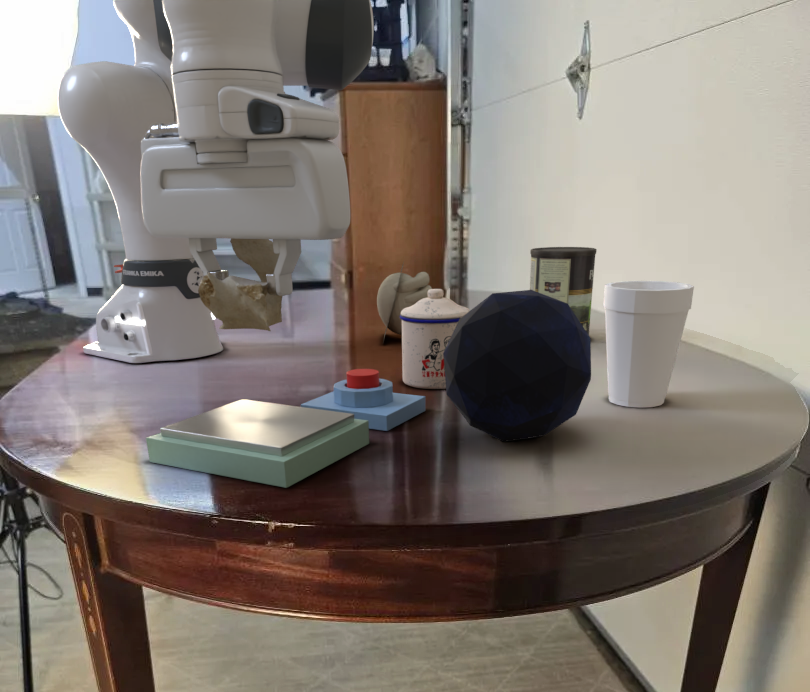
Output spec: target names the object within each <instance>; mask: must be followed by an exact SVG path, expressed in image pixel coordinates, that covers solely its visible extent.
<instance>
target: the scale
mask: <svg viewBox="0 0 810 692" xmlns="http://www.w3.org/2000/svg"><path fill="white" fill-rule="evenodd" d="M145 441H146V447H147V454H148V459H149V462H150V463H153V464H158V465H164V466H170V467H174V468H180V469H184V470H189V471H196V472H199V473H200V472H201V473H206V474H211V475H216V476H221V477H228V478H232V479H237V480H242V481H243V480H244V481H248V482H253V483H259V484H264V485H268V486H275V487H280V488H284V489H288V488H289V487H291V486H293V485H295V484H297V483H298V482H301V481H302V480H304V479H306V478H307V477H310V476H311V475H313V474H315V473H317V472H318V471H321V470H323V469H325V468H326V467H328V466H330V465H332V464H334V463H335V462H338V461H339V460H341V459H343V458H345V457H347V456H349V455H351V454H353V453H354V452H357V451H358V450H360V449H362V448H364V447H366V446H368V445H369V444H370V429H369V422H368V420H361V419H354V414H351V413H343V412H335V411H328V410H320V409H313V408H305V407H301V406H296V405H288V404H282V403H274V402H268V401H260V400H259V401H258V400H251V399H243V398H241V399H239V400H236V401H233V402H230V403H227V404H224V405H221V406H219V407H216V408H213V409H210V410H208V411H205V412H202V413H199V414H196V415H193V416H190V417H188V418H184V419H183V420H182V419H181V420H179V421H177V422H173V423H171V424H168V425H166V426H163V427H160V432H158V433H155V434H152V435H150V436H148V437H145Z"/></svg>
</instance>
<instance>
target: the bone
mask: <svg viewBox="0 0 810 692" xmlns="http://www.w3.org/2000/svg"><path fill="white" fill-rule="evenodd" d="M229 242H230V245H231V248H232V250H233V252H234V254H235V256H236V257H237V258H238V259H239V260H240V261H242V262H243V263H245V264H246V265H248V266H250V267H251V269H252V270H254V271H255V273H256V275H257V276H258V278H259V280H260V281H259V280H255V279H251V278H245V277H240V276H236V275H229V277H227V278H225V279H224V280H219V279H217V278H216V277H215V276H214V275H212V274H211V273H210V272H209V273H208V275H205V276H204V277H203V279H202V280H201V281H200V285H199V289H198V293H199V295H200V298H201V301H202V302H203V304H204V305H205V306H206V307H207V308H208V309H209V310H210V311H211V313H212V314H213V316H214V317H215V319H218V320H219V321H221V323H222V324H221V325H220V326H219V330H246V329H247V330H260V331H261V330H262V331H268V332H272V330H271V326H274V325H276V324H280V323H282V322H283V318H282V317H283V314H282V307H283V304H282V303H283V302H282V301H283V296H277V295H270V294H269V293H268V291H267V287H268V284H267V280H266V274H273V273H274V270H275V267H276V264H277V261H278V258H279V255H280V253H279V254H276V253H274V249H273V240H271V239H230V240H229Z"/></svg>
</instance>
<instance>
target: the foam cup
mask: <svg viewBox="0 0 810 692" xmlns="http://www.w3.org/2000/svg"><path fill="white" fill-rule="evenodd" d="M694 289H695V286H694V285H692V284H690V283H684V282H679V281H678V282H677V281H663V280H624V281H623V280H622V281H614V282H609V283H606V284H604V290H603V291H604V292H603V303H602V306H603V308H604V317H605V318H604V319H605V347H606V370H607V371H606V375H607V394H608V401H609V403H612V404H614V405H617V406H622V407H627V408H638V409H639V408H641V409H642V408H653V407H658V406H662V405H663V404H665V399H666V398H667V394H668V390H669V386H670V382H671V379H672V374H673V371H674V367H675V363H676V360H677V356H678V351H679V348H680V344H681V341H682V337H683V333H684V329H685V326H686V322H687V318H688V315H689V314H688V313H689V310H691V309H692V305H693V296H694Z"/></svg>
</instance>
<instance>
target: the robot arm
mask: <svg viewBox="0 0 810 692" xmlns="http://www.w3.org/2000/svg"><path fill="white" fill-rule="evenodd" d="M112 4H113V7H114V9H115V11H116V13H117V15H118V17H119V19H121V20H122V22H124V24H125V25H126V26H127V27H128V30H129V32H130V35H131V39H132V42H133V43H132V44H133V49H134V65H131V64H125V63H119V62H114V61H105V60H103V61H101V60H100V61H94V62H87V63H80V64H76V65H72V66H71V67H69V68H68V69H67V70H66V71H65V72H64V74H63V75H62V77H61V78H60V82H59V84H58V87H57V88H58V89H57V95H56V96H57V99H56V100H57V109H58V114H59V116H60V119H61V122H62V124H63V126H64V128H65V130H66V132H67V133H68V134H69V136H70V137H71V138H72V139H73V140H74V141H75V142H76V143H77V144H78V145H79V146H80V147H82V148H83V149H84V150H85V151H86V152H87V153H88V155H89V156H90V157H91V158H92V160H93V161H94V162H95V164H96V166H97V167H98V169H99V170H100V172H101V173H102V175H103V177H104V180H105V181H106V183H107V185H108V189H109V190H110V192H111V195H112V199H113V200H114V204H115V207H116V211H117V215H118V220H119V226H120V231H121V235H122V236H121V237H122V242H123V247H124V254H125V255H124V256H125V259H124V260H123V263H122V264H114V265H113V268H120V269H117V270H114V273H115V274H121V277H120V284H121V286H120V287H119V288H118V289H117V290H116V291H115V293H114V294H113V295H112V296H111V298H109V300H107V302H106V303H105V304H104V305H103V306H102V307H101V308H100V309H99V310H98V312H97V313H96V317H95V329H96V337H97V341H94V342H92V343H89V344H87V345H85V346H83V353H84V354H87V355H91V356H95V357H96V356H97V357H102V358H105V359H109V360H110V359H111V360H116V361H120V362H124V363H129V364H142V363H151V362H153V363H154V362H165V361H179V360H189V359H191V360H192V359H196V358H197V359H198V358H202V357H207V356H211V355H216V354H218V353H220V352H222V351H223V350H224V346H223V345H222V341H221V339H220V336H219V333H218V330H217V327H216V324H215V320H216V318H215V317H214V316H213V314H212V313H211V311H210V310H209V309H208V308H207V307H206V306H205V305H204V304H203V302H202V301H201V298H200V295H199V293H198V289H199V285H200V281H201V280H202V279H203V277H204V276H205V275H208V273H209V272H210V273H211V274H212V275H214V276H215V277H216V278H217V279H219V280H224V279H225V278H227V277H229V276H230V272H229V270H228V269H227V270H226V269H225V270H224V269H222V268H221V265H220V263H219V261H218V259H217V257H216V255H215V253H214V251H217V250H218V244H217V243H218V242H217V239H227V240H228V239H230V240H231V239H269V240H272V242H273V249H274V253H276V254H279V253H280V255H279V258H278V261H277V264H276V267H275V270H274V273H273V274H266V280H267V284H268V287H267V291H268V293H269V294H270V295H277V296H282V297H286V296H290V295H292V293H293V291H294V289H293V287H294V286H293V273H294V271H295V269H296V266H297V264H298V261H299V259H300V257H301V254H302V241H301V240H303V241H307V240H308V241H328V240H337V239H341V238H343V237H344V235H345V234H346V232H347V231H348V229H349V227H350V225H351V201H350V200H351V199H350V189H349V179H348V172H347V165H346V162H345V157H344V155H343V153H342V150H341V149H340V148H339V146H338V145H337V144H335V143H334V142H333V140H336V138H337V137H338V136H339V134H340V118H339V114H338V112H336V111H335V110H334V109H331V108H330V107H326V106H323V105H321V104H318V103H314V102H311V101H307V100H305V99H303V98H300V97H298V96H296V95H292V94H289V93H286V92H285V90H284V89H285V88H284V87H285V86H286V87H298V86H299V87H302V86H303V87H304V86H307V87H309V88H312V89H314V88H315V89H324V90H333V91H343V90H344V89H345V88H346V87H348V86H349V85H350V84H351V83H352V82H353V81H355V79H356V78H358V76H359V75H360V74H361V73H362V72H363V70H365V68H366V67H367V66H368V64H370V61H371V57H372V50H373V43H374V29H375V28H374V27H375V26H374V13H373V6H372V1H371V0H112Z"/></svg>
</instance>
